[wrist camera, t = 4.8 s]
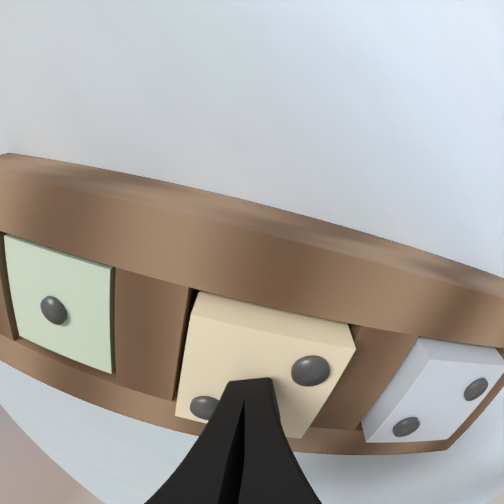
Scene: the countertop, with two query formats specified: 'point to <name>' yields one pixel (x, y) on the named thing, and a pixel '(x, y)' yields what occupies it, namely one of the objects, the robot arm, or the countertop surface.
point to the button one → (63, 301)
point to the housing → (234, 291)
